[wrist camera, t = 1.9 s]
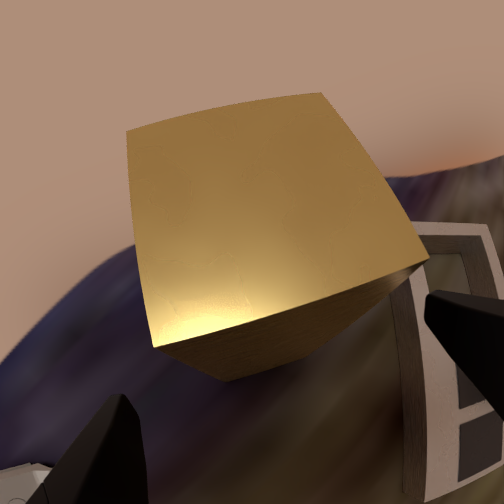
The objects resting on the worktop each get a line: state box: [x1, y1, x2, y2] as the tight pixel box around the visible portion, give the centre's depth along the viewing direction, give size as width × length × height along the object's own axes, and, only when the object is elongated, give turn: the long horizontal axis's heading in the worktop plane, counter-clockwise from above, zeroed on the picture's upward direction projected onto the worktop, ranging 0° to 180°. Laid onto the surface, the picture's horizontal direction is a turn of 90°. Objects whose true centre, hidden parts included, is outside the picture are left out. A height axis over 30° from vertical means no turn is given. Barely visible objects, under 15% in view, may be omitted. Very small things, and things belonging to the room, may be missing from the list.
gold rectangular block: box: [126, 93, 430, 382], centre depth 12 cm, size 5×5×14 cm
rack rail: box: [390, 222, 504, 503], centre depth 16 cm, size 18×9×3 cm, turn 1°
